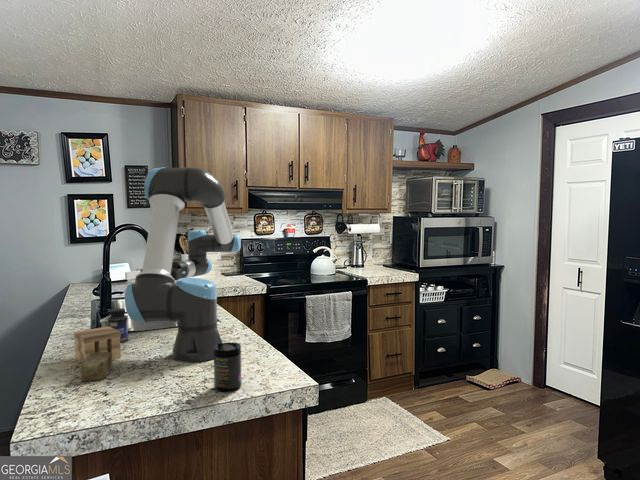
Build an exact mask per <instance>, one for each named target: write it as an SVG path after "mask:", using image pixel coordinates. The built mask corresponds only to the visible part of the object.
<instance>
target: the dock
mask: <svg viewBox="0 0 640 480" xmlns="http://www.w3.org/2000/svg"><path fill="white" fill-rule="evenodd" d="M120 337H121V332H120V331H118V330H116V329H113V328H111V327H109V326H107V327H96V328H91V329H84V330H79V331H74V332H73V338H74V353H75V359H76V360H77V361H79V362H80V363H81V364H82V363H83V361H84V360H85V359H86V358H87V356H89V355H90V353H96V352H98V353H99V352H111V359H112V361H114V360H118V359H121V358H122V348H121V343H120Z"/></svg>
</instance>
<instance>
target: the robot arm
mask: <svg viewBox="0 0 640 480" xmlns="http://www.w3.org/2000/svg"><path fill="white" fill-rule="evenodd" d="M143 186H144V196H145V198H146V200H147V201H148V203H149V205H150V206H151V207H152V209H151V210H152V211H151V214H150V222H149V226H148V228H149V229H148V233H147V238H146V245H145V252H144V257H143V263H142V269H138V268H137V269H135V270H131V271H126V272H124V276H125V280H126V281H127V280H134V279H135V281H134V282H131V283H130V284H127V286H126V287H125V292H124V305H125V312H126V313H127V316H128V317H129V318H130V319H131V320H132V321H133V322H139V323H153V322H160V323H161V322H164V323H166V322H177V334H176V338H175V341H174V344H173V347H172V358H173V359H174V360H175V361H178V362H184V363H197V362H199V363H200V362H206V361H210V360H214V355H213V347H214V346H215V345H217V344H221V343H223V341H222V338H221V336H220V332H219V329H218V310H217V309H218V305H217V304H218V303H217V301H218V300H217V299H218V295H217V287H216V284H215V283H214V282H213V281H211V280H209V279H204V278H197V277H198V276H204V275H207V274H209V273H210V272H212V271H211V270H212V268H213V264H212V262H211V259H210V258H208V257H207V253H238V252H240V250H241V248H242V243H241V242H242V237H241V236H240V234H236V233H234V232H233V228H232V224H231V221H230V218H229V214H228V211H227V207H226V203H225V200H226V194H225V193H226V192H225V190H224V188H223V186H222V184H221V183H220V181H219V180H218V179H217V178H216V177H215V175H212V174H211V173H210V172H208V171H207V170H204V169H203V168H200V167H193V166H191V167H166V166H162V167H155V168H152V169H150V170H149V172H148V173H147V174H146V177H145V180H144V185H143ZM186 202H198V203H199V204H200V206H202V207H203V208H204V211H205V213H206V216H207V219H208V221H209V225H210V226H211V229H212V232H213V234H207V232H206V230H205V229H202V230H201V229H195V230H193V229H192V230H189V231H188V232H187V241H186V242H187V258H188V259H183V260H181V259H180V260H177V261H173V260H174V251H175V244H176V238H177V231H178V230H177V229H178V224H179V215H180V211H183V210H184V208H185V205H186ZM195 277H196V278H195ZM175 281H176V282H175Z"/></svg>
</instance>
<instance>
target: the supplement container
mask: <svg viewBox="0 0 640 480" xmlns="http://www.w3.org/2000/svg"><path fill="white" fill-rule="evenodd" d="M213 355H214V359H213V376H214V377H213V382H214V385H213V386H214V389H215V390H216V391H217V390H218V392H220V391H222V393H230V392H229V391H232V392H235V391H237V390H239V389H240V388H241V387H242V382H243V381H242V345H241V344H240V343H238V342H222V343H221V344H217V345H215V346H214V347H213ZM234 390H235V391H234Z"/></svg>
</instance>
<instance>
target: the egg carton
mask: <svg viewBox="0 0 640 480" xmlns="http://www.w3.org/2000/svg"><path fill="white" fill-rule="evenodd" d="M126 316H127V318H128V317H129V315H126ZM109 317H111V315H108V316H105V317H103V318H101V319H99V322H100V323H101V327H107V326H108V318H109ZM101 327H100V328H101Z"/></svg>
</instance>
